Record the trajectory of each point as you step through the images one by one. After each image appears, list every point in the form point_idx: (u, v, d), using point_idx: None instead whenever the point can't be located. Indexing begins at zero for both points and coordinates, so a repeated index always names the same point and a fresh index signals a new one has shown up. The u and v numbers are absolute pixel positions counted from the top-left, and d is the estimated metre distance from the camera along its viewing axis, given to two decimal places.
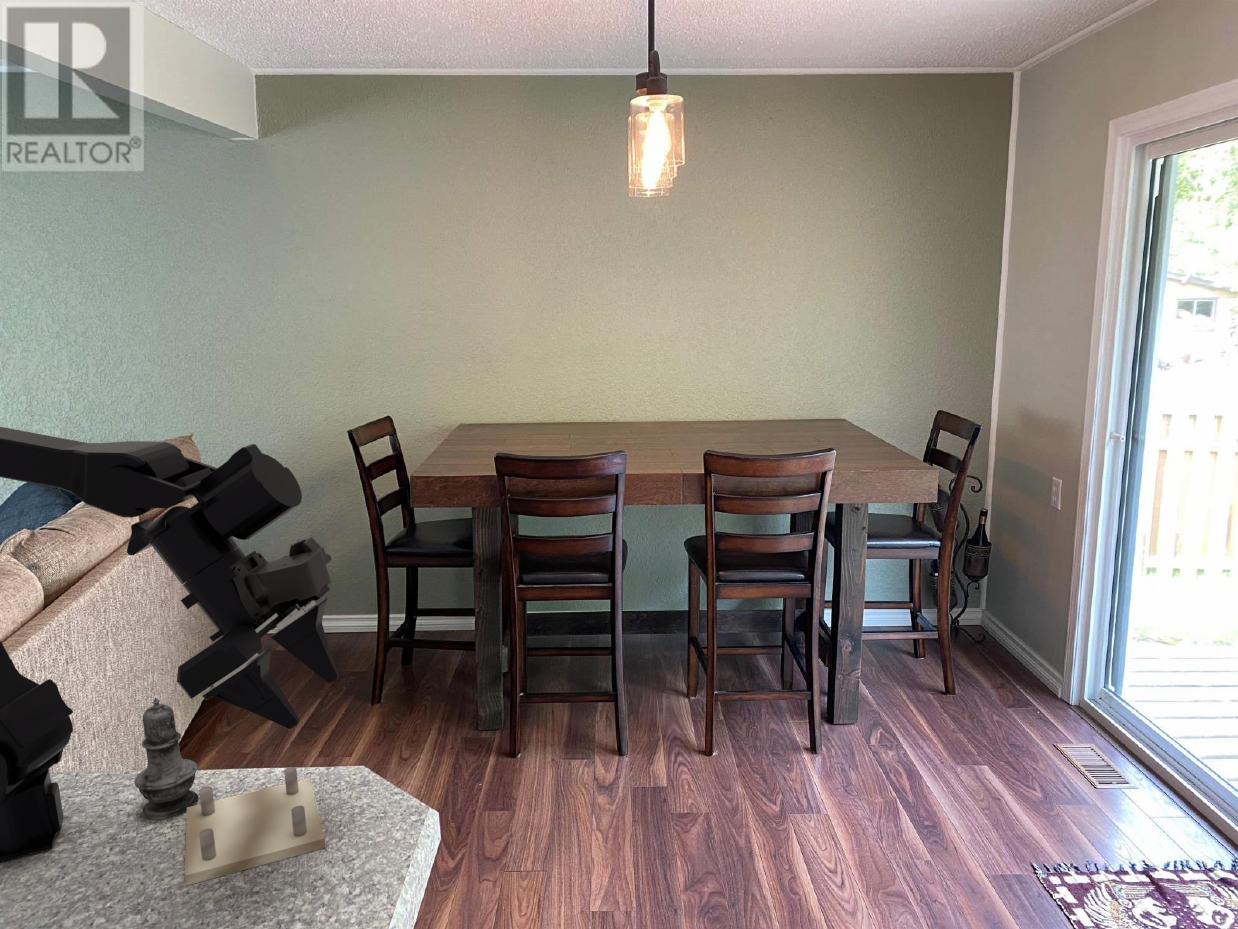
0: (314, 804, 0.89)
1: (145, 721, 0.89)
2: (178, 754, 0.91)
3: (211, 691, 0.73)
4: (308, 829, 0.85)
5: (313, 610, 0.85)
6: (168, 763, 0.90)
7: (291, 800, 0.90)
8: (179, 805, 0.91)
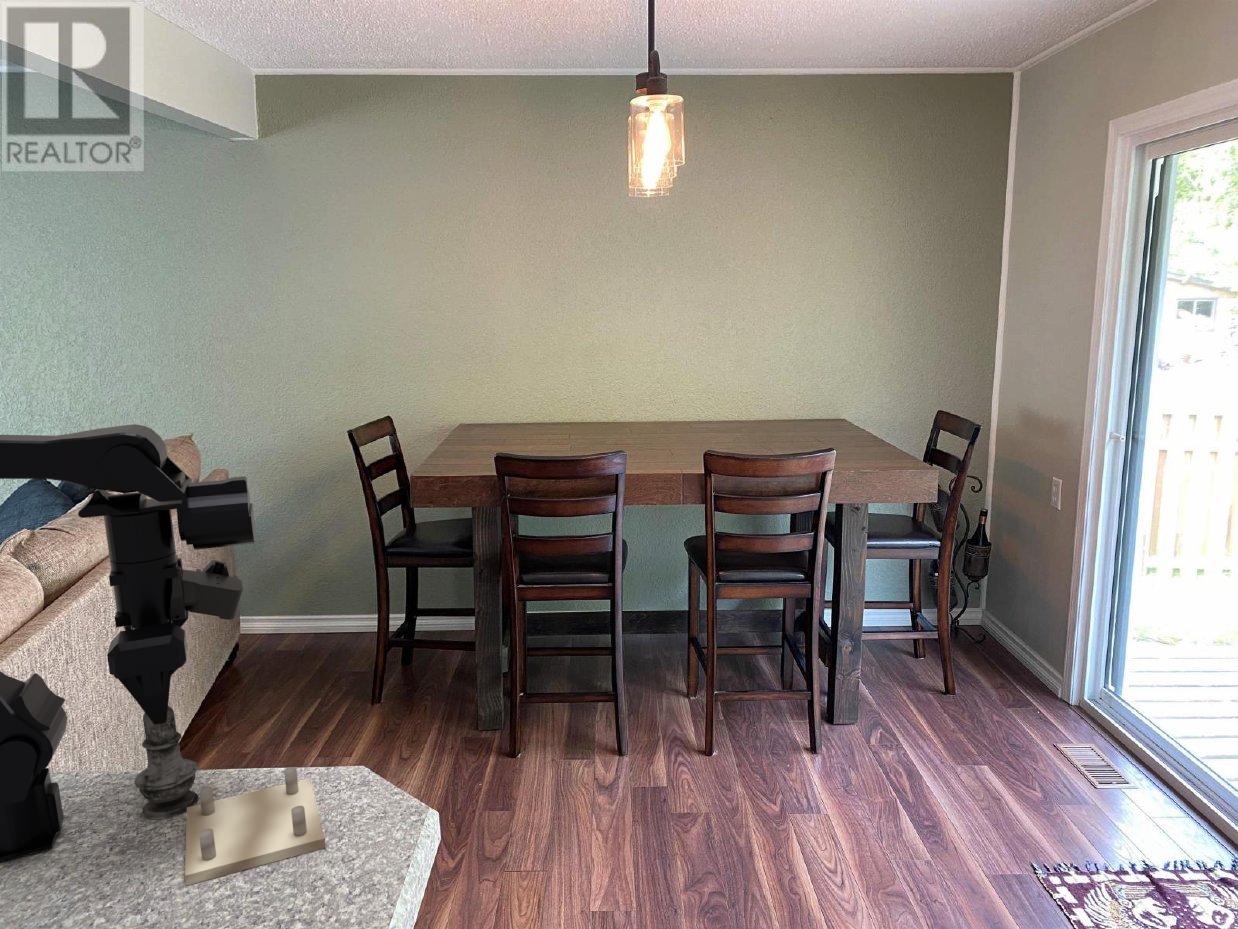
0: (314, 804, 0.89)
1: (145, 721, 0.89)
2: (178, 754, 0.91)
3: (128, 673, 0.80)
4: (308, 829, 0.85)
5: (182, 619, 0.93)
6: (169, 763, 0.90)
7: (291, 800, 0.90)
8: (179, 805, 0.91)
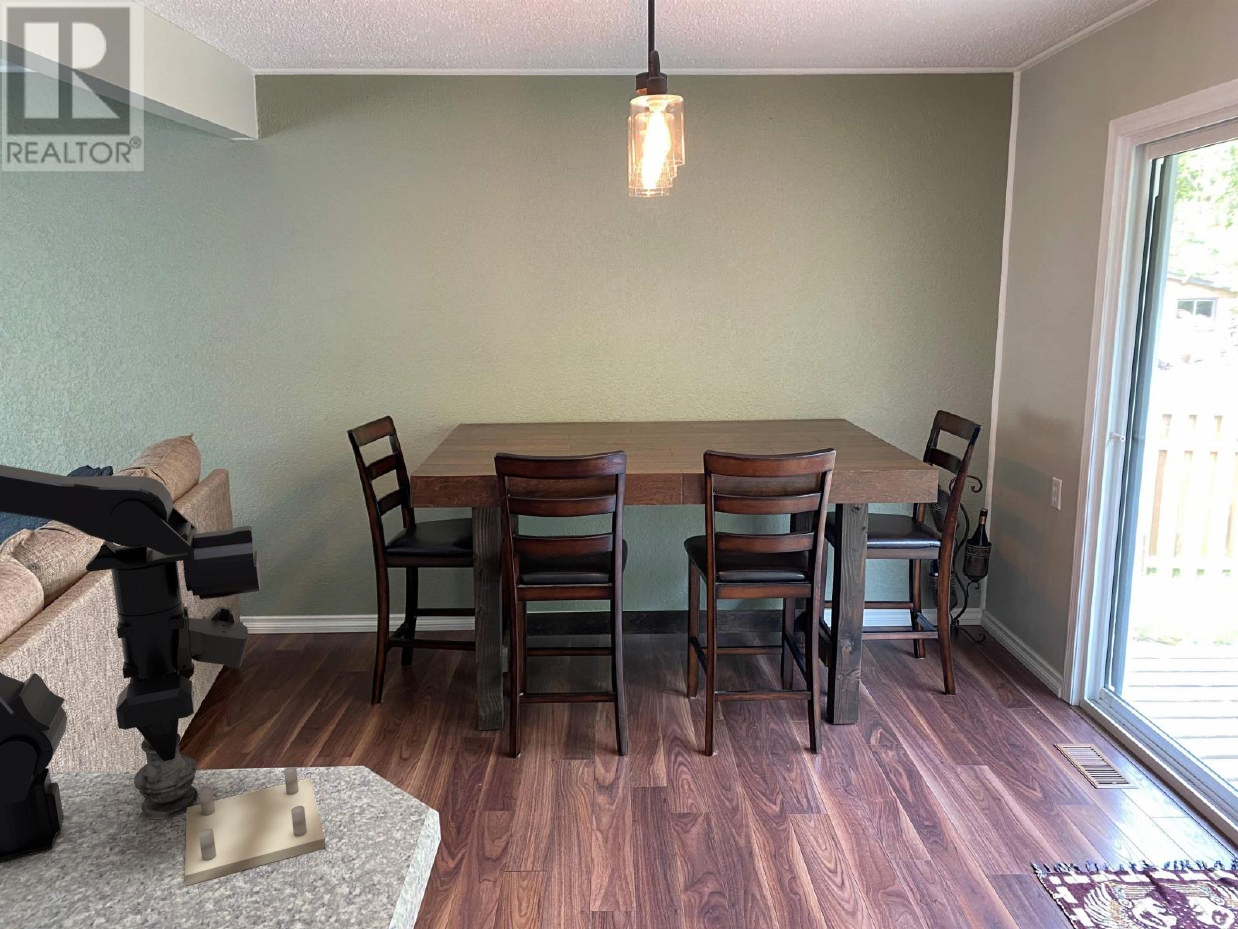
0: (314, 804, 0.89)
1: None
2: (177, 756, 0.90)
3: None
4: (308, 829, 0.85)
5: (187, 674, 0.92)
6: (168, 765, 0.89)
7: (291, 800, 0.90)
8: (179, 804, 0.91)
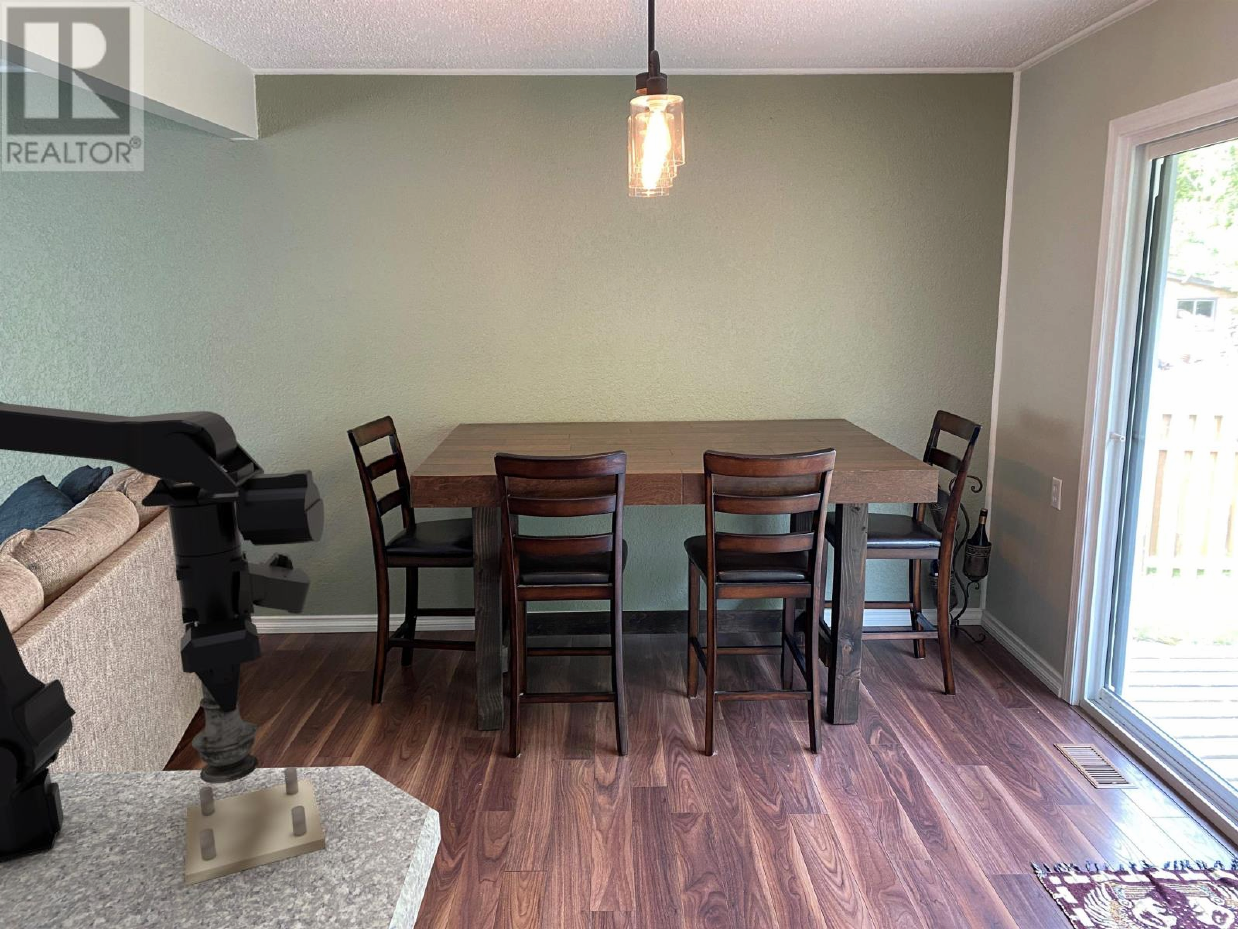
0: (314, 804, 0.89)
1: None
2: (237, 714, 0.85)
3: None
4: (308, 829, 0.85)
5: None
6: (229, 723, 0.84)
7: (291, 800, 0.90)
8: (240, 769, 0.85)
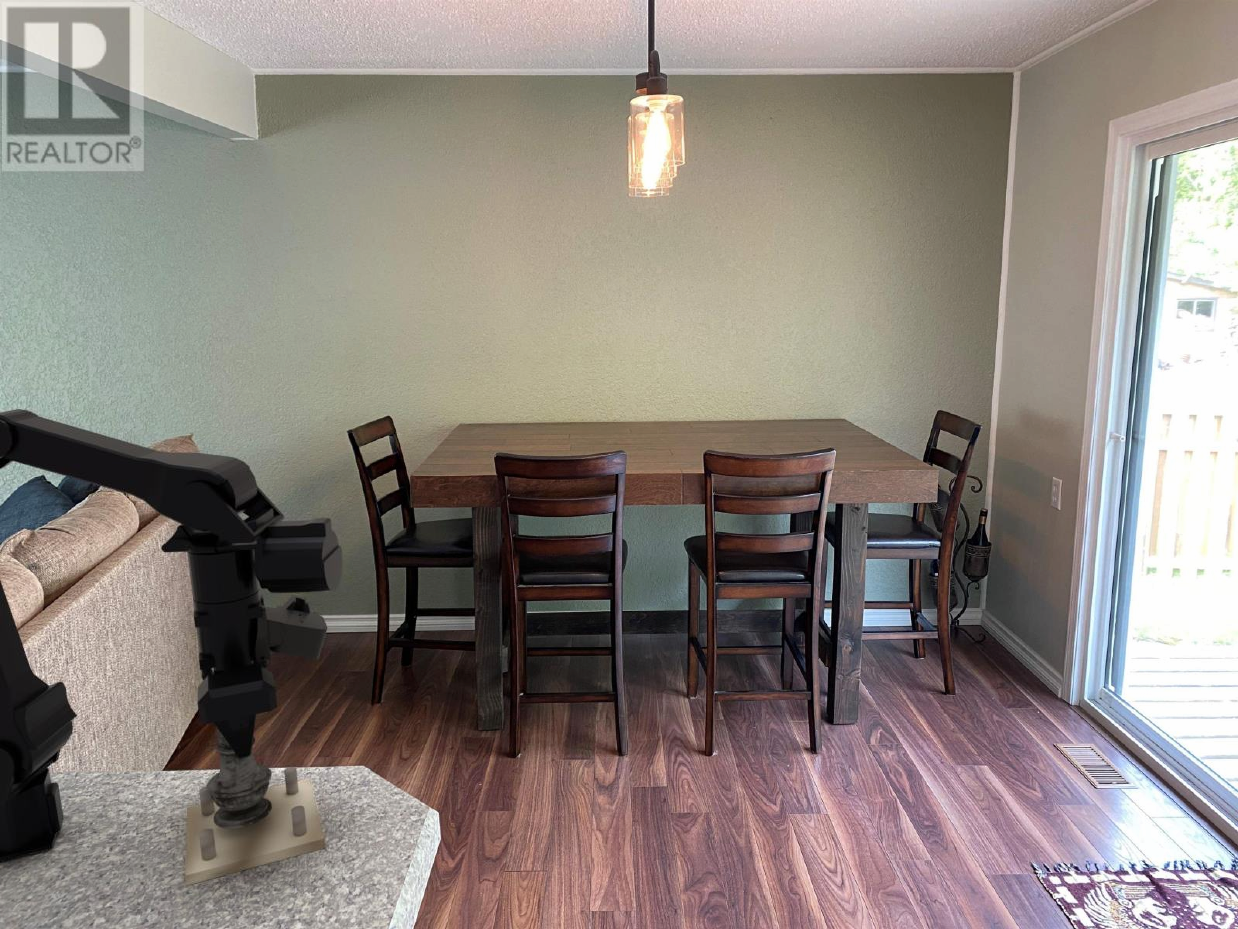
0: (314, 804, 0.89)
1: None
2: (252, 759, 0.85)
3: None
4: (308, 829, 0.85)
5: (261, 667, 0.87)
6: (243, 768, 0.84)
7: (291, 800, 0.90)
8: (254, 813, 0.85)
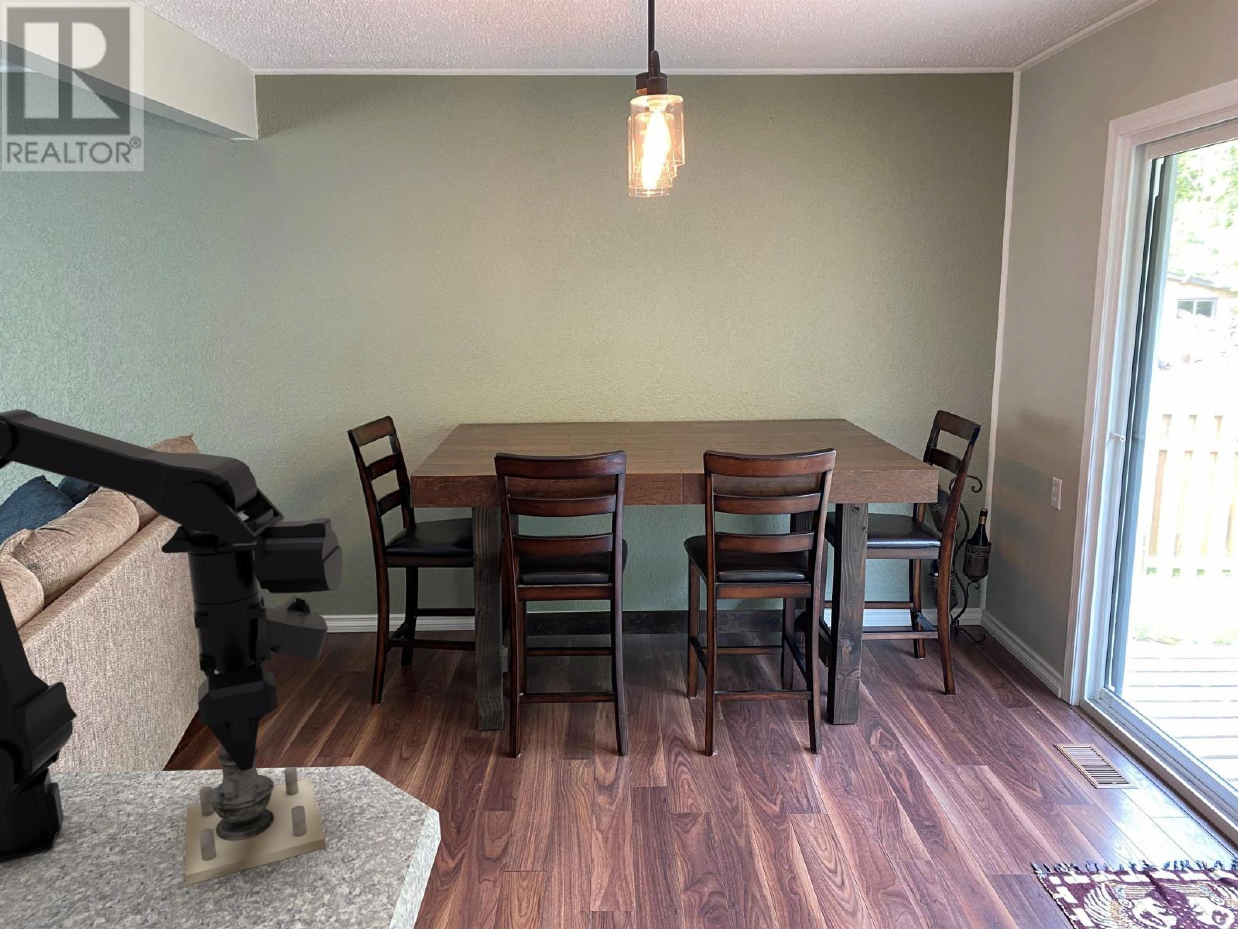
0: (314, 804, 0.89)
1: None
2: (254, 770, 0.85)
3: None
4: (308, 829, 0.85)
5: None
6: (246, 779, 0.84)
7: (291, 800, 0.90)
8: (256, 825, 0.85)
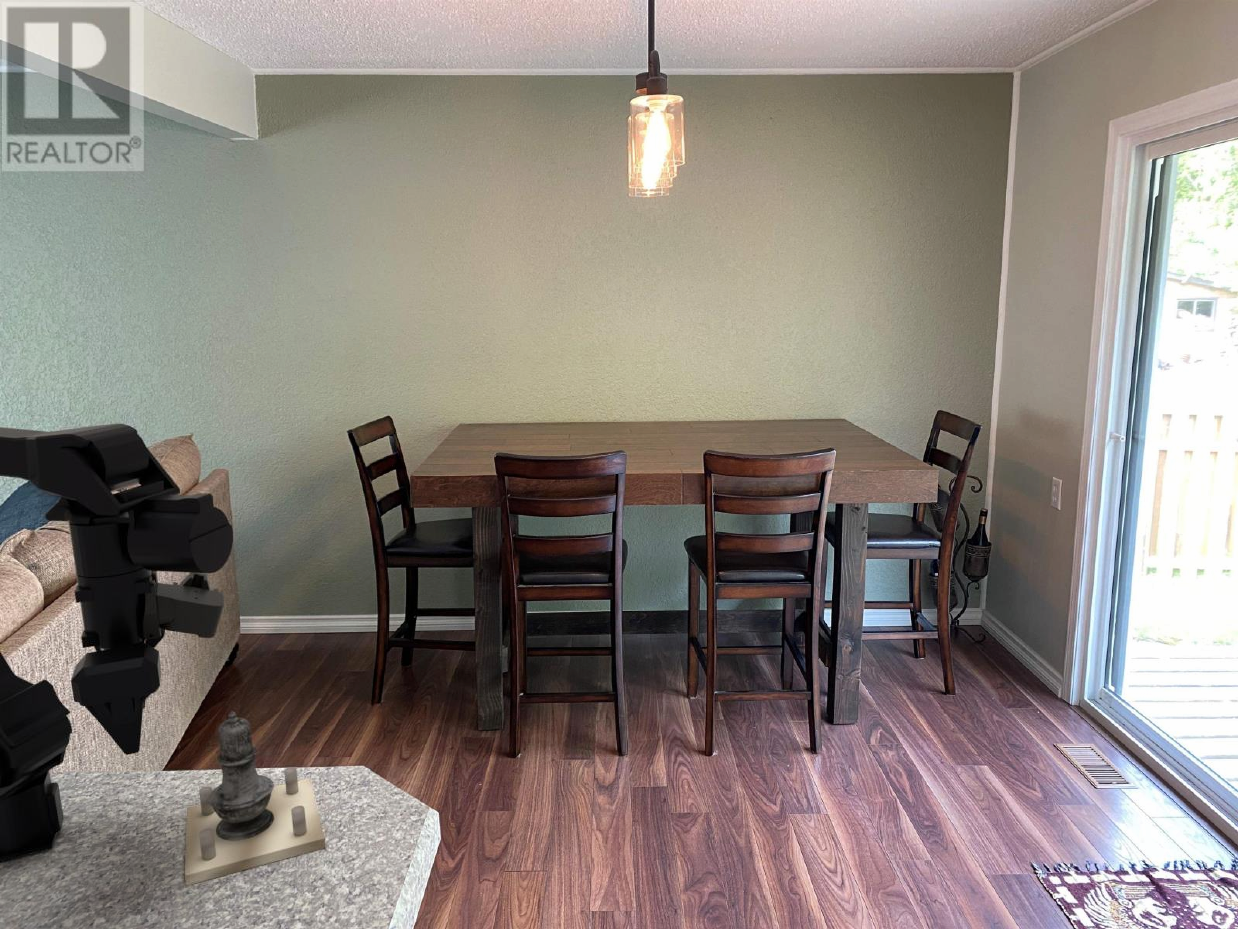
0: (314, 804, 0.89)
1: (222, 736, 0.83)
2: (254, 771, 0.85)
3: (95, 700, 0.72)
4: (308, 829, 0.85)
5: None
6: (245, 780, 0.84)
7: (291, 800, 0.90)
8: (256, 825, 0.85)
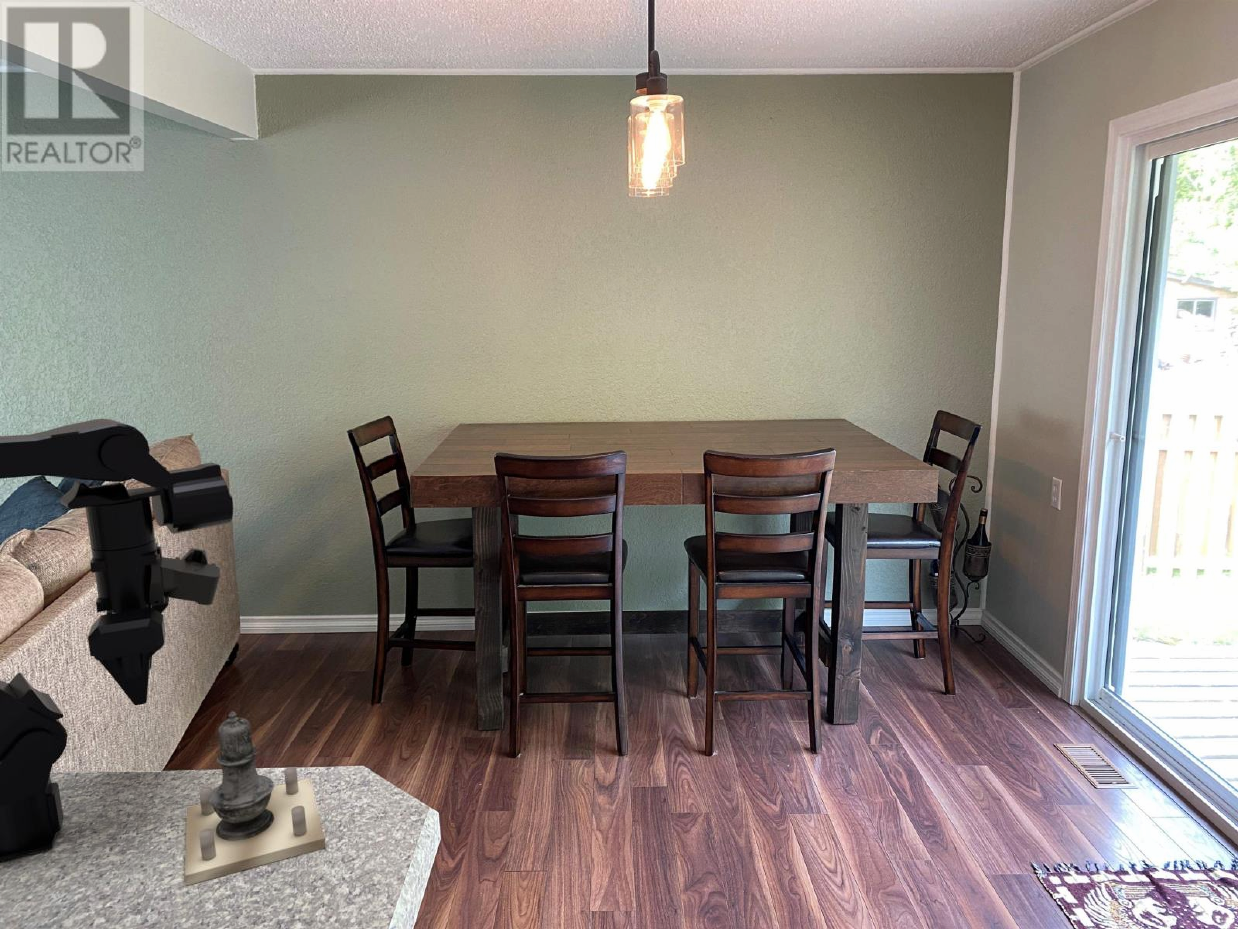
0: (314, 804, 0.89)
1: (222, 736, 0.83)
2: (254, 770, 0.85)
3: (108, 655, 0.83)
4: (308, 829, 0.85)
5: (162, 606, 0.97)
6: (245, 780, 0.84)
7: (291, 800, 0.90)
8: (256, 825, 0.85)
